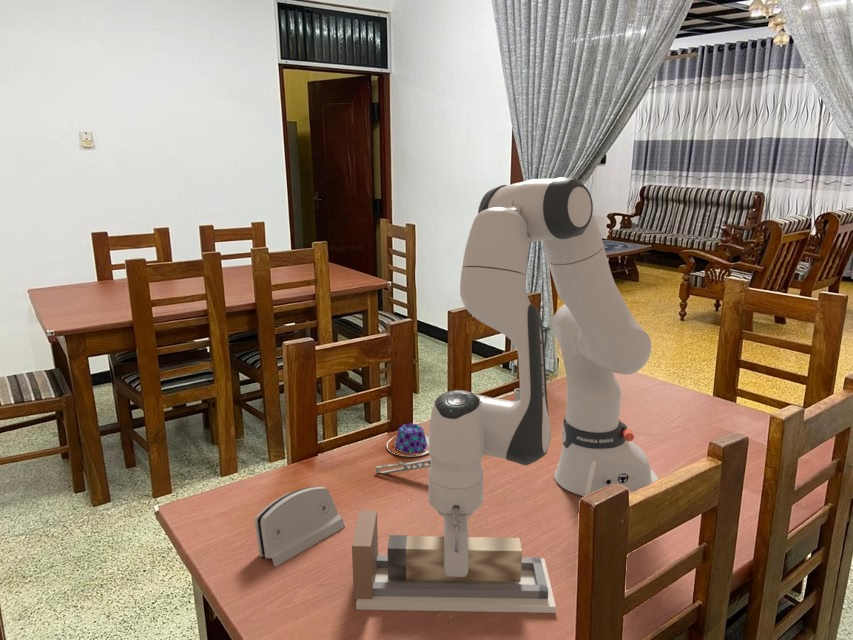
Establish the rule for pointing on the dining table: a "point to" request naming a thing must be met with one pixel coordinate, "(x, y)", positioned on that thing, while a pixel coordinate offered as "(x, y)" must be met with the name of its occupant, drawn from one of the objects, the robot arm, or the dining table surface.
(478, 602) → the slot board
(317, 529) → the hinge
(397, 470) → the bracket
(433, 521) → the dining table surface
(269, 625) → the dining table surface
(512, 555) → the wooden block
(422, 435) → the pudding
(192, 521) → the dining table surface
